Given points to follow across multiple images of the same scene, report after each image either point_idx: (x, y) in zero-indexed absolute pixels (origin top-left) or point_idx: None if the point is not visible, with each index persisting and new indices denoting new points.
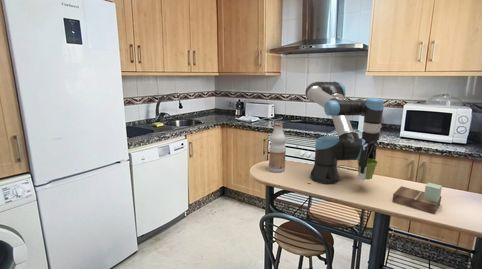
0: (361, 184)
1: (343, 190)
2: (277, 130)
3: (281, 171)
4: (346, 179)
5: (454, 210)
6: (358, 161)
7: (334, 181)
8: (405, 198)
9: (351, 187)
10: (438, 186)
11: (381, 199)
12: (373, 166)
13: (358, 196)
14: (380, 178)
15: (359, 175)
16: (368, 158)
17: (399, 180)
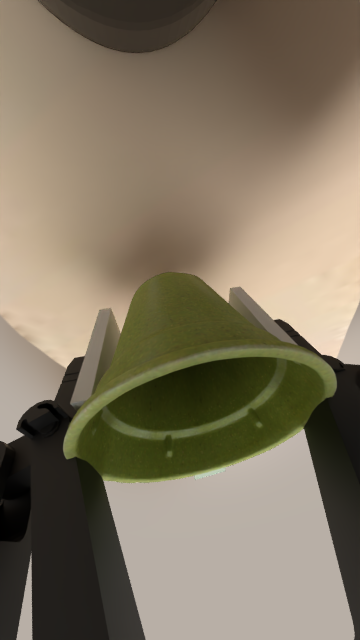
0: (229, 225)
1: (58, 200)
2: None
3: None
4: (256, 84)
5: None
6: (71, 421)
7: (82, 23)
8: None
9: (146, 210)
10: (212, 473)
11: None
12: (164, 443)
13: (79, 296)
14: (355, 246)
15: (94, 327)
16: (319, 395)
17: (352, 301)
